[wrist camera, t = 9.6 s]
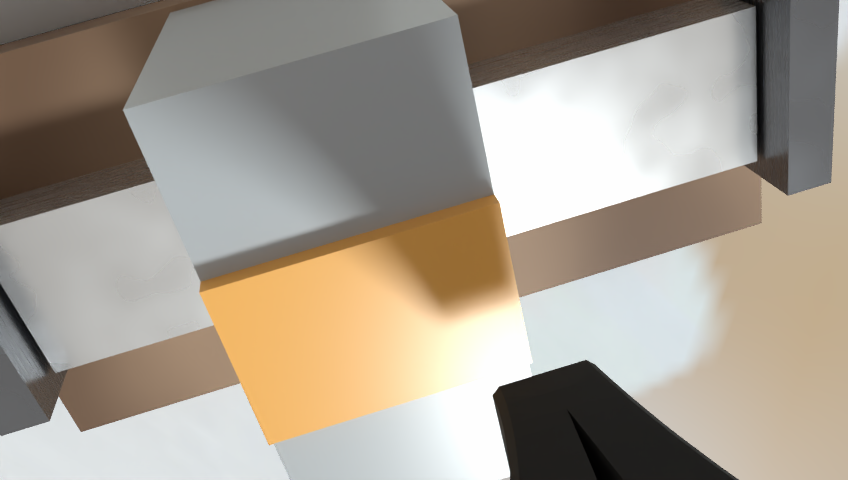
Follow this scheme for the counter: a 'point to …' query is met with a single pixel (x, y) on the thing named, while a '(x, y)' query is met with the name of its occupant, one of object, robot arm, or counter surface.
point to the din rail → (507, 159)
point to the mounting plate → (116, 144)
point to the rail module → (341, 228)
